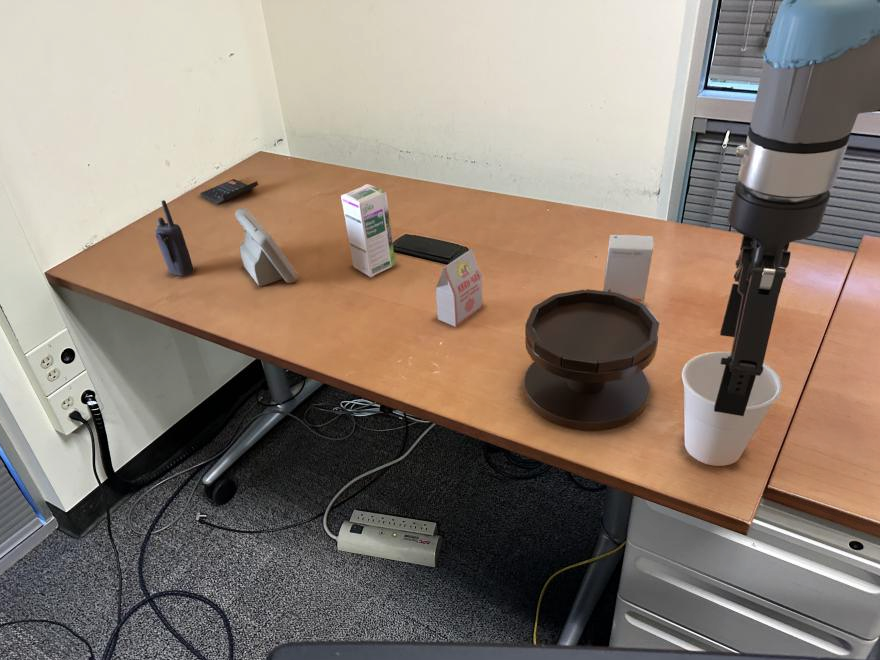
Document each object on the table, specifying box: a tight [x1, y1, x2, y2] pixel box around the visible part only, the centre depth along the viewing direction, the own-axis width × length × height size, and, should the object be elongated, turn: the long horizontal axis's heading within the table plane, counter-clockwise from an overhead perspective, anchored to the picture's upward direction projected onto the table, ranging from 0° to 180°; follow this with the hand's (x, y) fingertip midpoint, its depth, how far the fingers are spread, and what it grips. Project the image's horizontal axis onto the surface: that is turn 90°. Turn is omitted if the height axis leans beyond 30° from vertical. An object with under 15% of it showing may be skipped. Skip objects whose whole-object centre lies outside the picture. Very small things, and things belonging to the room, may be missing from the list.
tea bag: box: [435, 249, 483, 328], centre depth 107 cm, size 4×7×10 cm, turn 134°
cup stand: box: [523, 288, 660, 432], centre depth 89 cm, size 16×16×11 cm
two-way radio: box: [154, 199, 195, 277], centre depth 128 cm, size 6×4×15 cm
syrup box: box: [340, 183, 396, 278], centre depth 121 cm, size 6×6×14 cm
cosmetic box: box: [602, 234, 655, 305], centre depth 102 cm, size 6×4×12 cm
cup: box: [681, 351, 783, 467], centre depth 78 cm, size 10×10×11 cm
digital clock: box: [234, 207, 298, 287], centre depth 126 cm, size 16×9×11 cm, turn 14°
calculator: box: [199, 178, 259, 205], centre depth 159 cm, size 9×12×3 cm
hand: (731, 371), depth 74 cm, fingers open, 13 cm apart
